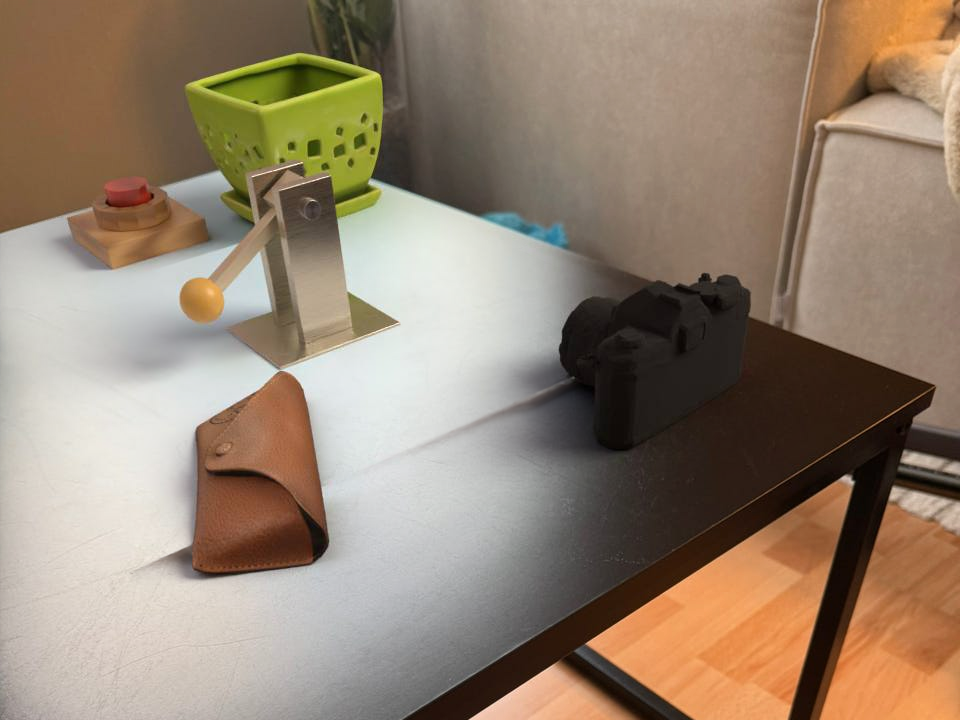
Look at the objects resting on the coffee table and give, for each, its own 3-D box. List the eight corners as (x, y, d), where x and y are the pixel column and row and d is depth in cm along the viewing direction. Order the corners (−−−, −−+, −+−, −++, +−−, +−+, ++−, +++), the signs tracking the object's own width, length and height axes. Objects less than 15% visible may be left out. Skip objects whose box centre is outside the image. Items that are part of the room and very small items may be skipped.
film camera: (654, 338, 79) (663, 222, 73) (757, 379, 74) (776, 258, 68) (517, 412, 72) (514, 290, 66) (620, 463, 67) (628, 336, 61)
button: (119, 213, 94) (113, 194, 93) (102, 202, 97) (97, 183, 96) (158, 202, 96) (154, 183, 95) (141, 192, 99) (136, 173, 97)
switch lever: (211, 338, 75) (182, 309, 72) (192, 323, 76) (163, 295, 74) (327, 207, 75) (302, 174, 72) (306, 196, 77) (280, 163, 74)
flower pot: (321, 181, 109) (302, 48, 100) (401, 214, 101) (387, 73, 92) (208, 218, 102) (177, 79, 94) (283, 256, 95) (257, 108, 86)
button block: (112, 270, 94) (100, 227, 91) (73, 239, 100) (60, 198, 97) (210, 241, 98) (200, 198, 95) (166, 213, 104) (156, 172, 101)
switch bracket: (283, 381, 77) (249, 210, 68) (228, 341, 82) (191, 177, 74) (402, 336, 82) (384, 170, 73) (343, 300, 87) (320, 142, 78)
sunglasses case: (187, 422, 72) (217, 341, 68) (280, 452, 75) (314, 376, 72) (189, 578, 59) (227, 487, 56) (302, 606, 62) (345, 521, 59)
